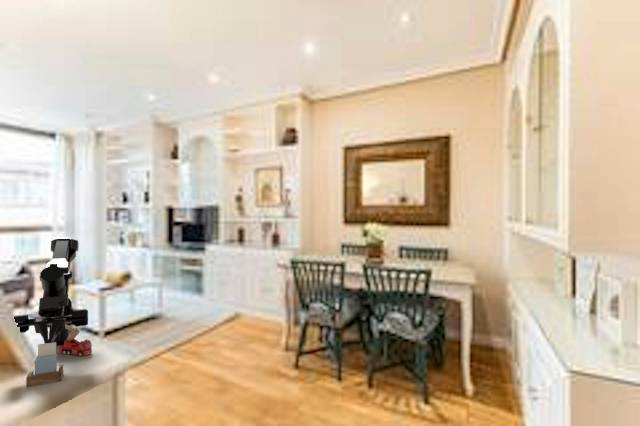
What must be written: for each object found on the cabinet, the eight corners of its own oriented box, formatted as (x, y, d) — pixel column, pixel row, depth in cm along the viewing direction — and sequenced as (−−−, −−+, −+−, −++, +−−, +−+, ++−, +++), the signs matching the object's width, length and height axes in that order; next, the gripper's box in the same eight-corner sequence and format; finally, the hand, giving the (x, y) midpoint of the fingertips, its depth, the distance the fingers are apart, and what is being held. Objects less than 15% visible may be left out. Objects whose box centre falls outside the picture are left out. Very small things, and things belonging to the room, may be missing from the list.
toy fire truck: (85, 357, 117) (85, 327, 117) (49, 353, 120) (50, 323, 120) (93, 353, 120) (94, 324, 120) (59, 349, 123) (59, 320, 123)
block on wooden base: (36, 377, 102) (37, 344, 102) (56, 374, 104) (57, 341, 104) (34, 383, 98) (35, 349, 98) (54, 380, 101) (55, 346, 101)
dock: (33, 370, 107) (34, 361, 107) (65, 365, 110) (65, 357, 110) (26, 386, 97) (26, 377, 97) (61, 380, 101) (61, 371, 101)
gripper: (11, 287, 103) (0, 338, 94) (88, 282, 113) (85, 328, 103) (16, 309, 110) (6, 358, 100) (89, 302, 119) (86, 347, 110)
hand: (47, 347), depth 103 cm, fingers closed
